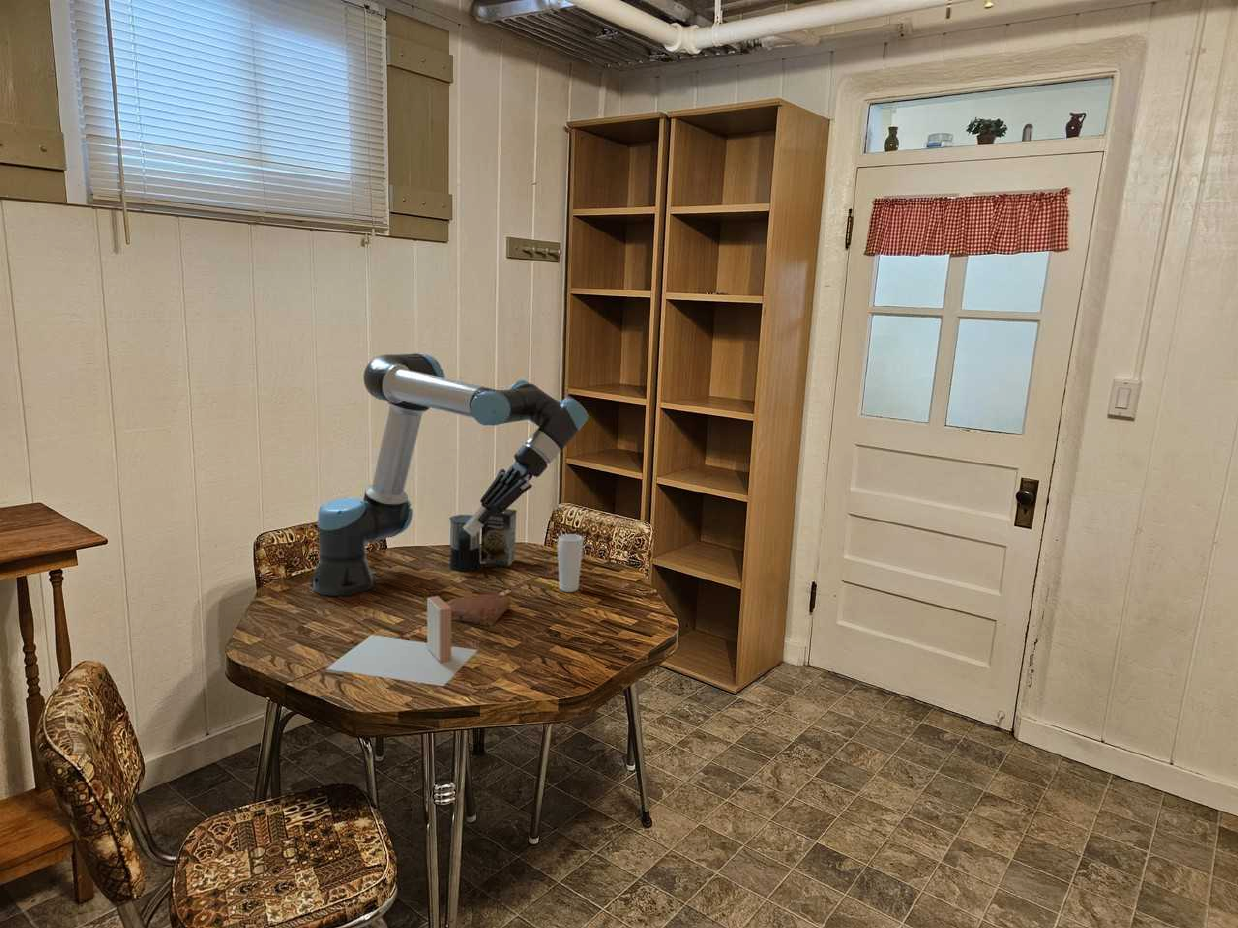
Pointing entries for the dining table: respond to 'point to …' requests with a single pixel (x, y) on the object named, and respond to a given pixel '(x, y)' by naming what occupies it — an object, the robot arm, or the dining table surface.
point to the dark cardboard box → (499, 538)
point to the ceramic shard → (478, 608)
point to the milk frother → (466, 546)
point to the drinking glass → (569, 561)
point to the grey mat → (400, 661)
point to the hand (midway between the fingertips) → (467, 532)
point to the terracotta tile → (439, 628)
